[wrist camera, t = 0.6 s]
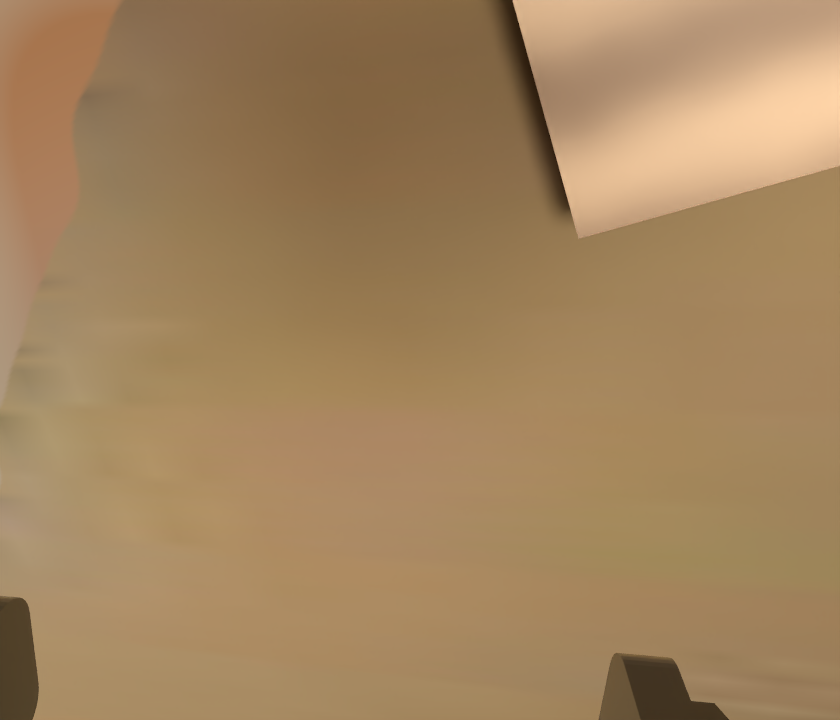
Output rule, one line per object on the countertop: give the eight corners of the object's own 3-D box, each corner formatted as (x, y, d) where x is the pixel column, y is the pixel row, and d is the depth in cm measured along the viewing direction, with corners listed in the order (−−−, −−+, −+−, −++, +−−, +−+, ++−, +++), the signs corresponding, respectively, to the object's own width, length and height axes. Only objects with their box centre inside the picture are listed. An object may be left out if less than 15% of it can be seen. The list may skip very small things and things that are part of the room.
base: (488, -103, 26) (484, -103, 24) (867, -265, 23) (909, -284, 20) (575, 211, 32) (578, 238, 29) (891, 119, 28) (926, 141, 26)
